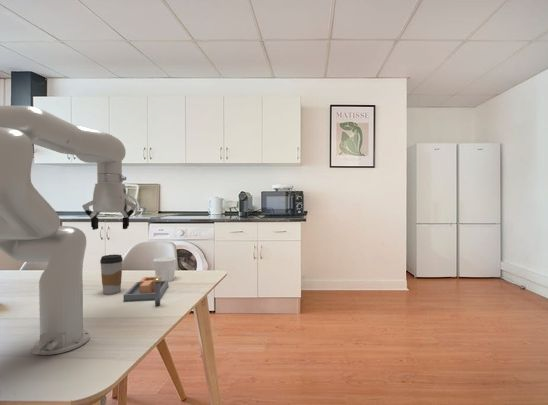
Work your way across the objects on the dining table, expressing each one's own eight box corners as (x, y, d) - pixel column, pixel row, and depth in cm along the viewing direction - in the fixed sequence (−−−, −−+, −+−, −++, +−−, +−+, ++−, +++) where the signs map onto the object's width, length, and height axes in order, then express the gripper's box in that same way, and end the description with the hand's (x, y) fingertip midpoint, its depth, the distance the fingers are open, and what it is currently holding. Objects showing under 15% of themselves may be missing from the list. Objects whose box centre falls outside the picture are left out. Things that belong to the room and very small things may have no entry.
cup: (148, 281, 141) (148, 260, 141) (163, 276, 150) (162, 256, 150) (166, 283, 138) (166, 262, 137) (180, 278, 147) (180, 257, 147)
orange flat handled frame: (161, 286, 131) (161, 276, 131) (153, 296, 118) (153, 285, 118) (144, 287, 130) (144, 277, 130) (134, 297, 117) (134, 285, 117)
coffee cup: (113, 296, 120) (113, 258, 120) (95, 294, 122) (95, 257, 122) (127, 289, 129) (127, 254, 128) (110, 288, 130) (110, 253, 130)
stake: (160, 306, 109) (160, 279, 109) (153, 306, 109) (152, 279, 108) (162, 303, 112) (161, 277, 111) (154, 304, 111) (154, 277, 111)
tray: (159, 299, 116) (159, 293, 116) (123, 301, 114) (123, 295, 114) (168, 286, 134) (168, 280, 134) (137, 287, 132) (137, 281, 132)
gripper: (139, 180, 110) (139, 227, 110) (87, 180, 107) (88, 228, 107) (133, 179, 103) (133, 229, 103) (77, 178, 100) (78, 230, 100)
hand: (110, 229), depth 105 cm, fingers open, 9 cm apart
